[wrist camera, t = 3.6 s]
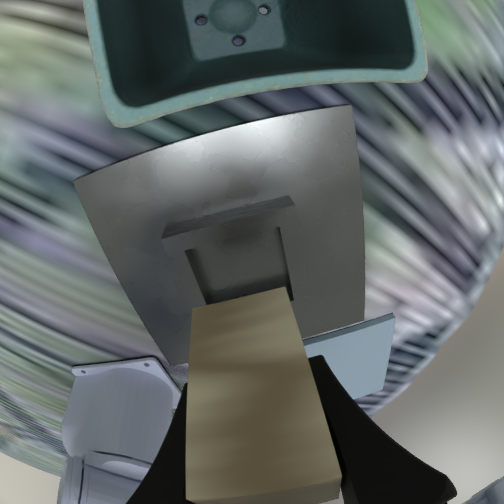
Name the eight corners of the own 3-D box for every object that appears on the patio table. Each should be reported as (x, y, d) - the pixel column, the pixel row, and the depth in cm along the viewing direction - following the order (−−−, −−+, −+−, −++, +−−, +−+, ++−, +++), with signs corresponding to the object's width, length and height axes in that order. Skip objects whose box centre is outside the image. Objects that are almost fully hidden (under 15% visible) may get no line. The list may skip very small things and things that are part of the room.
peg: (219, 364, 14) (229, 517, 8) (192, 308, 12) (186, 499, 6) (297, 347, 14) (338, 498, 7) (285, 286, 12) (342, 475, 5)
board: (278, 414, 30) (279, 419, 29) (255, 351, 24) (256, 357, 23) (380, 385, 29) (382, 389, 29) (392, 313, 23) (395, 317, 23)
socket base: (171, 360, 23) (169, 379, 21) (76, 178, 15) (61, 190, 13) (361, 315, 23) (371, 333, 21) (347, 104, 15) (363, 107, 13)
